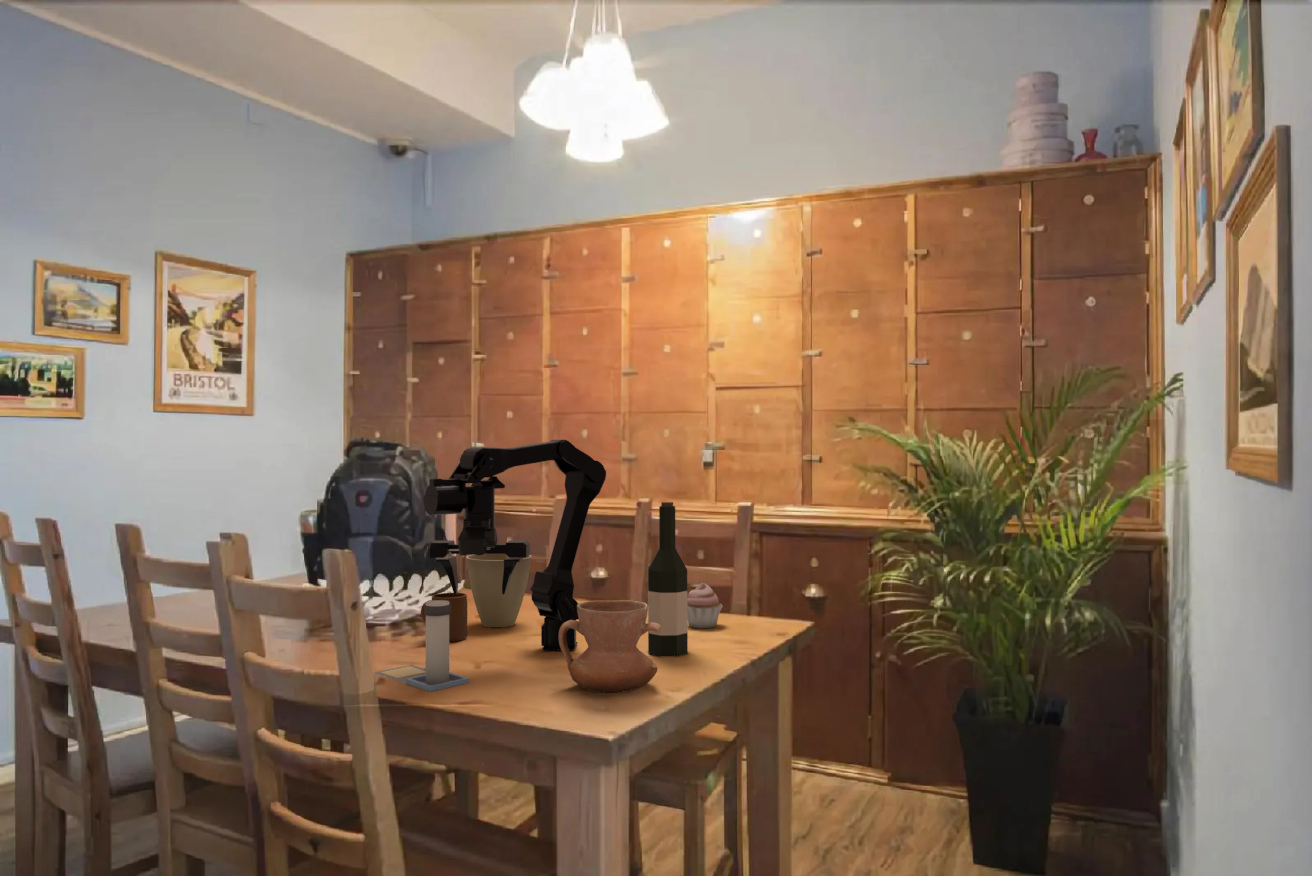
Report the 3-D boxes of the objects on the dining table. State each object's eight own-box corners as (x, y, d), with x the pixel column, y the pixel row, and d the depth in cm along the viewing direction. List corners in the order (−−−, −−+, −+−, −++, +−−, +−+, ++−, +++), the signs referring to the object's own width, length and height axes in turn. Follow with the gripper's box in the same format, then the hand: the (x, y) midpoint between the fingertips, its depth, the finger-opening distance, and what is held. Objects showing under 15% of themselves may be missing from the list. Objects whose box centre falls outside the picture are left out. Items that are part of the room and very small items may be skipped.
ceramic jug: (670, 679, 159) (669, 599, 160) (650, 702, 145) (650, 613, 146) (573, 674, 164) (573, 595, 164) (545, 695, 150) (544, 609, 150)
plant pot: (481, 634, 199) (481, 561, 199) (456, 623, 211) (456, 555, 211) (542, 626, 207) (542, 557, 207) (515, 616, 219) (515, 550, 219)
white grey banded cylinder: (449, 678, 159) (449, 599, 159) (451, 685, 155) (451, 603, 155) (423, 681, 158) (423, 600, 158) (425, 687, 154) (425, 604, 154)
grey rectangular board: (372, 674, 164) (372, 668, 164) (411, 666, 170) (411, 660, 170) (430, 693, 151) (430, 687, 151) (470, 684, 157) (470, 678, 157)
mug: (435, 648, 185) (435, 602, 185) (408, 644, 189) (408, 599, 189) (474, 637, 195) (474, 593, 195) (448, 634, 199) (448, 591, 199)
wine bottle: (640, 655, 178) (640, 503, 178) (655, 646, 186) (654, 500, 186) (680, 658, 175) (680, 503, 175) (694, 649, 183) (693, 501, 183)
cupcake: (678, 629, 203) (678, 584, 203) (686, 621, 212) (686, 579, 212) (719, 631, 201) (719, 586, 201) (726, 623, 210) (725, 580, 210)
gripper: (419, 516, 165) (419, 601, 165) (521, 515, 165) (521, 601, 165) (435, 511, 176) (435, 591, 176) (530, 511, 176) (530, 591, 176)
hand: (479, 594), depth 173 cm, fingers open, 9 cm apart
